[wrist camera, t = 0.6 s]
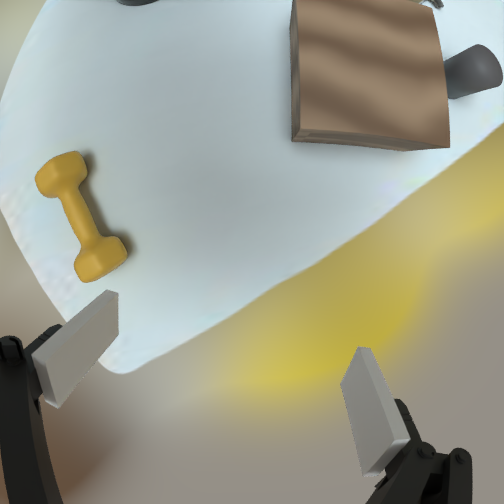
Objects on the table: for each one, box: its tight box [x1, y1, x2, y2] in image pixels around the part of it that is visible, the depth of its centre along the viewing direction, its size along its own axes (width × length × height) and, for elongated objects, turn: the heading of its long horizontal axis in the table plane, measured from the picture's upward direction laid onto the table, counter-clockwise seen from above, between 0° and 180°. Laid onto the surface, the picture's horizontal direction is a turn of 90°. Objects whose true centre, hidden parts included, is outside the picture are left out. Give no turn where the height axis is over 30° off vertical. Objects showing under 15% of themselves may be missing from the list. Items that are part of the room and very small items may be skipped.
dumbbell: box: [35, 151, 127, 283], centre depth 37 cm, size 19×9×8 cm, turn 25°
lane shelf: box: [290, 0, 450, 151], centre depth 28 cm, size 18×16×12 cm
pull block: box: [443, 44, 503, 99], centre depth 27 cm, size 6×19×11 cm, turn 90°
